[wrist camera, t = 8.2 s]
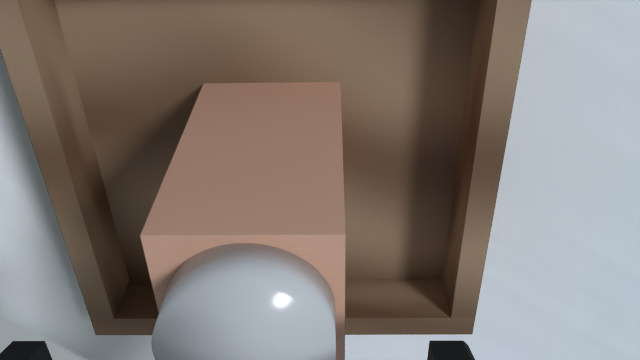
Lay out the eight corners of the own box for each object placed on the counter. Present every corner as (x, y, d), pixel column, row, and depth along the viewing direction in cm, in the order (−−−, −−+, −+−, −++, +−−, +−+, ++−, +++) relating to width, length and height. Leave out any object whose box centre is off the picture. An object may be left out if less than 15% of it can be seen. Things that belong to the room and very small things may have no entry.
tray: (459, 283, 23) (472, 334, 20) (117, 284, 23) (95, 335, 21) (515, -90, 15) (544, -70, 13) (13, -81, 16) (-36, -60, 14)
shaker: (340, 194, 20) (345, 416, 13) (218, 194, 20) (159, 415, 13) (340, 81, 17) (346, 277, 11) (203, 83, 17) (122, 278, 11)
